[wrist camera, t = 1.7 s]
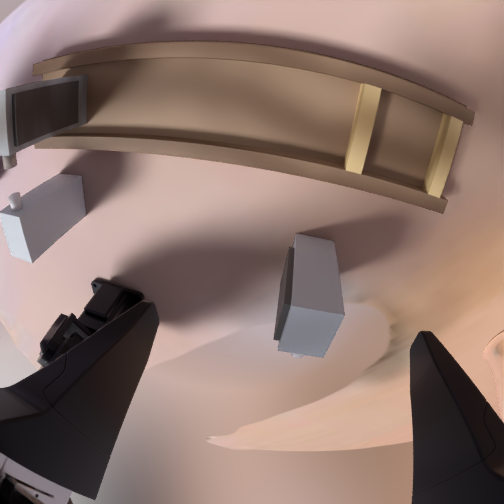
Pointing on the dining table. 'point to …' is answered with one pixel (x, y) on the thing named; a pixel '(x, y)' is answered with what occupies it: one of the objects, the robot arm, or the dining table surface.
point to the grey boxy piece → (309, 298)
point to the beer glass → (497, 367)
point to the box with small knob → (42, 215)
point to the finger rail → (243, 114)
